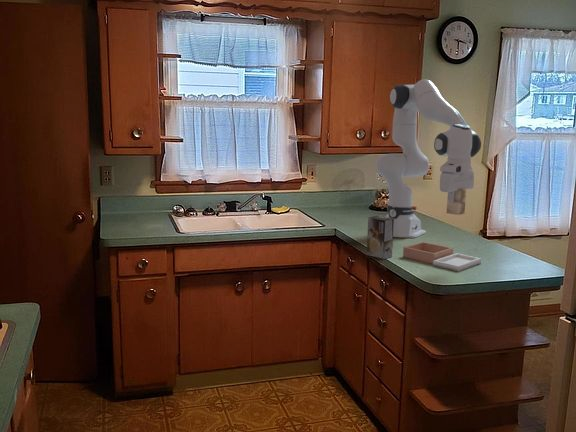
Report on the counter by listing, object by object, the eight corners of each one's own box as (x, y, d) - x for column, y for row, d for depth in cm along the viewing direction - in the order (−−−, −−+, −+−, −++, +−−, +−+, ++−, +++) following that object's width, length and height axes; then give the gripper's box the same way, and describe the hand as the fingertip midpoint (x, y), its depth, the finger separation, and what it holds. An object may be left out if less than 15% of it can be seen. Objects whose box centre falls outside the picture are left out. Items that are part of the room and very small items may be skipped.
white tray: (456, 257, 246) (456, 253, 246) (480, 263, 238) (481, 258, 238) (432, 265, 234) (433, 260, 233) (458, 271, 226) (458, 266, 226)
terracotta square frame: (422, 250, 256) (422, 241, 256) (452, 257, 246) (453, 248, 246) (403, 256, 246) (403, 247, 246) (433, 263, 236) (434, 253, 235)
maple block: (453, 211, 237) (454, 187, 235) (464, 213, 234) (466, 188, 232) (446, 213, 234) (448, 188, 232) (458, 214, 230) (459, 189, 228)
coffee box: (392, 256, 246) (395, 218, 243) (383, 259, 241) (385, 220, 238) (375, 252, 252) (376, 215, 249) (365, 254, 248) (367, 217, 245)
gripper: (464, 164, 240) (462, 198, 242) (437, 167, 226) (435, 203, 228) (479, 165, 235) (476, 200, 238) (452, 168, 221) (450, 205, 224)
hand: (456, 201), depth 233 cm, fingers closed on maple block, 5 cm apart
